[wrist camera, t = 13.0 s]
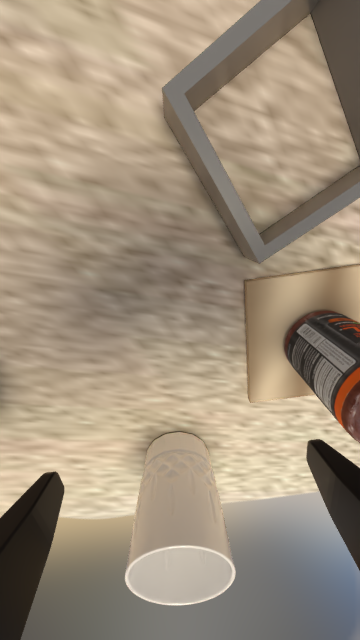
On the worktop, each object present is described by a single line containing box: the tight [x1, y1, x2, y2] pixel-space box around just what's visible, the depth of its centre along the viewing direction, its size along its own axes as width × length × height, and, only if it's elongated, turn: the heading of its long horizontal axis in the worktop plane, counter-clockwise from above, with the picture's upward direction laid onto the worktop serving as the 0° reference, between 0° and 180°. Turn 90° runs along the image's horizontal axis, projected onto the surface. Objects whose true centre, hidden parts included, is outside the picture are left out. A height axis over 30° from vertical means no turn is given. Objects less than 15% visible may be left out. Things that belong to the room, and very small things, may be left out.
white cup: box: [125, 432, 235, 605], centre depth 22 cm, size 8×8×10 cm
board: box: [244, 264, 360, 403], centre depth 21 cm, size 12×12×1 cm
